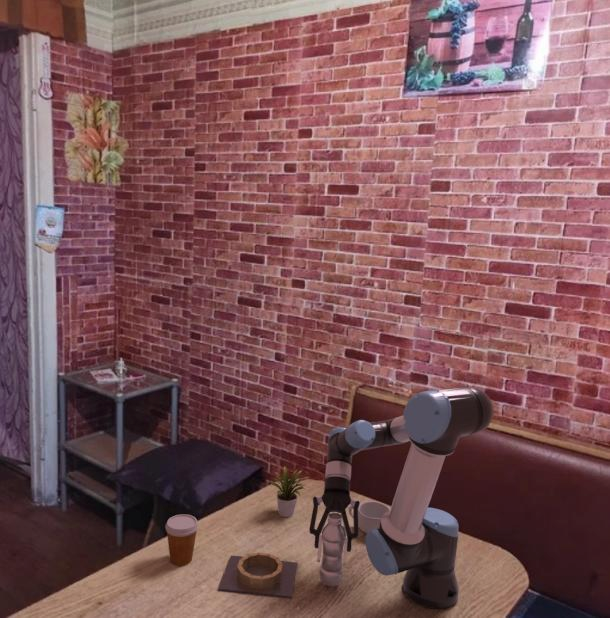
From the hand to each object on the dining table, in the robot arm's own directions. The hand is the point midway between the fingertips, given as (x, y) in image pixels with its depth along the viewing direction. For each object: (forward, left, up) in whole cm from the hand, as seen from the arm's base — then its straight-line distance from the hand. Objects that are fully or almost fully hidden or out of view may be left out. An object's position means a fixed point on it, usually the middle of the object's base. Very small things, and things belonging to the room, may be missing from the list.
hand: (331, 562), depth 162 cm
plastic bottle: (0, -3, -9) cm, 9 cm away
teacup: (-11, -36, -9) cm, 38 cm away
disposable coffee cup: (+44, -8, -9) cm, 46 cm away
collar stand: (+20, -4, -9) cm, 22 cm away
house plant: (+17, -40, -9) cm, 44 cm away
